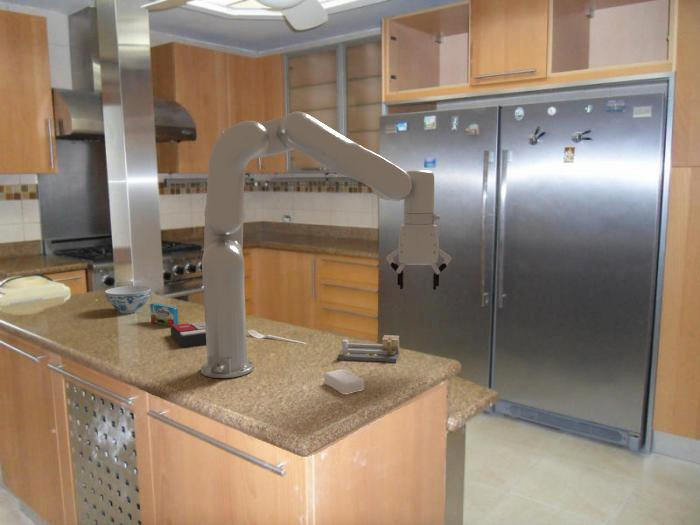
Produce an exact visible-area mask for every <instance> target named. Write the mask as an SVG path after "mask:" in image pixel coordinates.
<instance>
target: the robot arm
mask: <svg viewBox="0 0 700 525" xmlns="http://www.w3.org/2000/svg"><path fill="white" fill-rule="evenodd" d="M295 150H296V151H298V152H300V153H301V154H303V155H305V156H307V157H308V158H310V159H312V160H314V161H315V162H316V163H318V164H320V165H322V166H324V167H325V168H327V169H328V170H330V171H332V172H334V173H336V174H338V175H341V176H345V177H348V178H351V179H354V180H356V181H358V182H360V183H362V184H364V185H365V186H368V187H369V188H371V190H372V192H373V194H374V195H375V196H376V197H377V198H378V199H381V200H384V201H393V202H400V201H402V200H403V224H401V225H400V230H399V235H398V236H399V238H398V247H397V248H396V249H395V250H394V251H391V253H389V254H388V255H386V257H385V260H386V261H387V263H388V264H389V266H390V267H391V268H392V270H394V271H395V273H396V274H397V286H399V289H400V290H403V289H404V287H405V286H404V285H405V284H404V281H405V279H404V278H405V277H404V276H405V274H404V273H405V272H404V270H403V269H404V268H405V266H406V265H407V266H408V265H409V266H430V267H431V268H432V271H433V275H432V278H433V280H432V281H433V282H432V283H433V284H432V286H433V287H432V289H433V290H434V291H436V290H437V287H440V274H441V273H442V272H443V271H444V270H445V269H446V268H447V267H448V265H449V264H450V262H452V259H453V258H452V257H451V256H450V255H449V254H448V253H446V252H445V251H443V250H442V249H441V248H440V244H439V240H440V239H439V230H438V225H437V224H434V223H435V222H438V221H439V222H440V218H441V217H440V215H439V214H438V215H437V214H435V174H434V172H433V171H431V170H426V169H423V170H421V169H417V170H414V169H413V170H408V171H405V170H404V169H402V168H400V167H399V166H398V165H396V164H395V163H393V162H391V161H390V160H387V159H386V158H384V157H382V156H381V155H379V154H378V153H375V152H373V151H372V150H369V149H367V148H366V147H364V146H363V145H360V144H359V143H357V142H355V141H354V140H351V139H349V138H348V137H346V136H344V135H343V134H341V133H339V132H338V131H336V130H334V129H333V128H331V127H329V126H328V125H326V124H325V123H323V122H321V121H319V119H316V118H315V117H313V116H312V115H310V114H308V113H306V112H303V111H299V110H298V111H297V110H295V111H292V112H289V113H288V114H287V115H286V116H283V117H282V116H281V117H279V118H275V119H270V120H267V121H259V122H258V121H256V120H243V121H240V122H238V123H236V124H234V125H232V126H230V127H229V128H227V129H226V130H224V131H223V132H222V133H221V134H220V136H219V137H218V138H217V139H216V140H215V142H214V144H213V147H212V149H211V151H210V154H209V158H208V168H207V170H208V171H207V182H206V198H205V199H206V203H205V207H204V235H203V236H204V238H203V239H204V241H203V242H204V244H203V253H202V254H203V255H202V257H201V258H202V259H201V271H202V286H203V304H204V321H205V327H206V345H205V346H206V362H204V363H203V364H201V366H200V373H201V374H202V375H203V376H204V377H207V378H214V379H230V378H237V377H241V376H244V375H247V374H249V373H251V372H252V371H253V370H254V368H255V367H254V366H255V365H254V362H253V361H251V360H250V359H248V351H247V348H248V345H247V324H246V323H247V322H246V318H247V316H246V297H245V291H246V290H245V288H246V287H245V259H244V258H245V257H244V254H243V247H244V246H243V244H244V242H243V241H244V222H245V217H246V213H245V186H246V185H245V183H246V171H247V166H248V165H249V163H250V161H251V160H257V159H261V158H264V157H270V156H275V155H279V154H284V153H288V152H292V151H295ZM397 256H398V257H397ZM395 257H397V258H398V259H397V260H398V262H399V265H398V263H396V261H395V260H394V258H395ZM440 257H441V258H443V260H444V261H443V262H442V263H441V264H440V265H438V263H439V260H440V259H439V258H440Z"/></svg>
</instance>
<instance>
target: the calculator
mask: <svg viewBox="0 0 700 525" xmlns="http://www.w3.org/2000/svg"><path fill="white" fill-rule="evenodd" d="M170 336H171V337H172V339H173V340H174V341H175V342H176V343H177V345H179V347H181V349H186V348H192V347H193V348H194V346H195V347H201V345H202V346H206V327H205V320H204V321H199V322H198V321H197V322H191V323H181V324H178V325H173V327H171V326H170Z"/></svg>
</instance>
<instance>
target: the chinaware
mask: <svg viewBox="0 0 700 525" xmlns="http://www.w3.org/2000/svg"><path fill="white" fill-rule="evenodd" d="M151 291H152V290H151V287H150V286H144V285H126V286H117V287H112V288H108V289H106V290H105V291H104V294H105V297H106V299H107V300H106V301H108V303H109V304H110V305H111V306H112V307H113V308H114V309H116V310H118V313H120V312H121V313H120V314H134V313H133V312H135V313H138V312H140V309H141V308H142V307H144V305H146V303H147V301H148V300H149V297H150V294H151ZM137 311H138V312H137Z"/></svg>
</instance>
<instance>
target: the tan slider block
mask: <svg viewBox="0 0 700 525" xmlns="http://www.w3.org/2000/svg"><path fill="white" fill-rule="evenodd" d="M381 340H382V344H381V345H382V351H387V355H392V351H396V353H398V351H399V352H400V335H392V334H391V335H390V334H389V335H388V334H386V335H385V334H384V335H383V337H382V339H381Z"/></svg>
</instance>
